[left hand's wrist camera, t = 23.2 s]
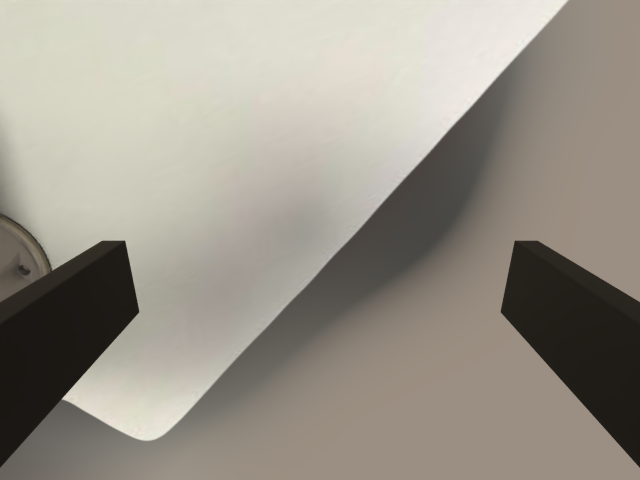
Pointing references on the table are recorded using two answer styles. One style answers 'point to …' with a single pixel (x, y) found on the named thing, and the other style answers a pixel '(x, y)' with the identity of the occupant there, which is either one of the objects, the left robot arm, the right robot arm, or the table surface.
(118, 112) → the table surface
